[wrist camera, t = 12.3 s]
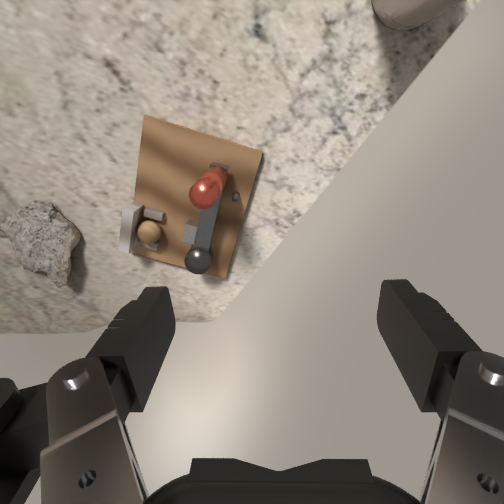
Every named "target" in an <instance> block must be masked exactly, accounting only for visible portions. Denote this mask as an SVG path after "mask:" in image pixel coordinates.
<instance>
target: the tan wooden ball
mask: <svg viewBox="0 0 504 504" xmlns="http://www.w3.org/2000/svg"><path fill="white" fill-rule="evenodd" d="M137 235H138V237H139V239H140V240H141V241H143V242H145V243H154V242H156V241H157V240H158V239H159V238H160V236H161V228H160V226H159V225H158V224H157V223H156V222H154V221H144V222H142V223H141V224H140V225H139V226H138V229H137Z"/></svg>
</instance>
